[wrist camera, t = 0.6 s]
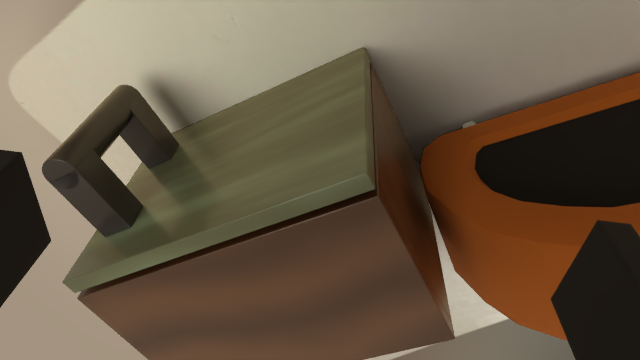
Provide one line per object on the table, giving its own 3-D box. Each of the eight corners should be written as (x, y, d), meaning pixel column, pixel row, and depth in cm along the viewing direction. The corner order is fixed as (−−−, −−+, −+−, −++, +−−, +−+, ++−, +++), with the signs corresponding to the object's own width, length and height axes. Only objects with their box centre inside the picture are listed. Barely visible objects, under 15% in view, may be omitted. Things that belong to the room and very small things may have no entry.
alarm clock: (782, 10, 29) (1155, 165, 15) (768, 129, 33) (1043, 327, 20) (411, 131, 35) (443, 313, 22) (442, 216, 40) (484, 408, 27)
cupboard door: (109, 82, 35) (-22, 211, 23) (328, -33, 29) (306, 59, 17) (163, 150, 38) (74, 293, 26) (369, 59, 32) (376, 189, 20)
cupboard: (166, 151, 38) (76, 298, 26) (371, 61, 32) (378, 195, 20) (238, 242, 44) (192, 398, 32) (424, 179, 38) (455, 339, 26)
